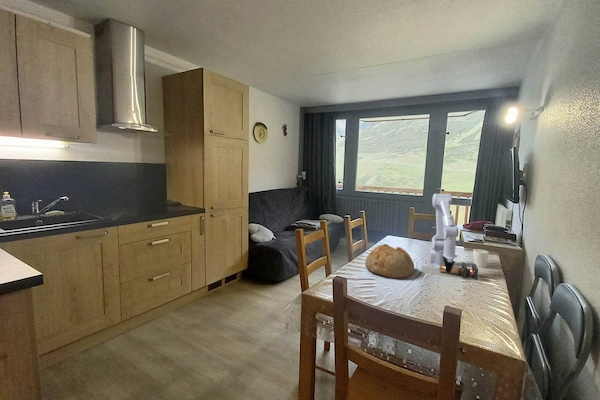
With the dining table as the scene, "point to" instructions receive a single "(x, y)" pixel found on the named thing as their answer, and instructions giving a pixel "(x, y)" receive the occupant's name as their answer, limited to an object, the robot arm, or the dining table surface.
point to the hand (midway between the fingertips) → (447, 270)
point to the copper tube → (457, 271)
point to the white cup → (480, 258)
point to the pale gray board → (437, 272)
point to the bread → (390, 262)
